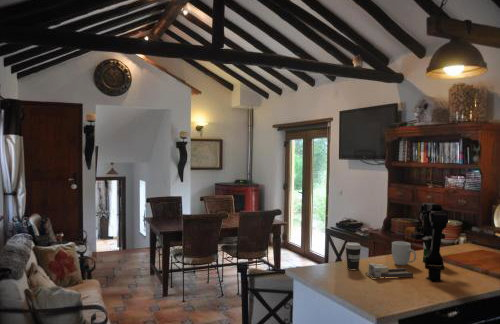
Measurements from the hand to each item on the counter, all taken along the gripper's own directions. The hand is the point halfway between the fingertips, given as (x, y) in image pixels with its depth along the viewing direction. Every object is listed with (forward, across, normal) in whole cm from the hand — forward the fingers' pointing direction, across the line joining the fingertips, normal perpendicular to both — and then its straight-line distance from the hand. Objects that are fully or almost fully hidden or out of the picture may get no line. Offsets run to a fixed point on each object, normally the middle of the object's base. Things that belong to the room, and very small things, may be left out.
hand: (427, 250), depth 232 cm
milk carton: (+12, -11, -14) cm, 22 cm away
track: (+12, +27, +6) cm, 30 cm away
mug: (+12, +8, -14) cm, 20 cm away
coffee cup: (+12, +42, -10) cm, 45 cm away
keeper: (+11, +32, +6) cm, 34 cm away
